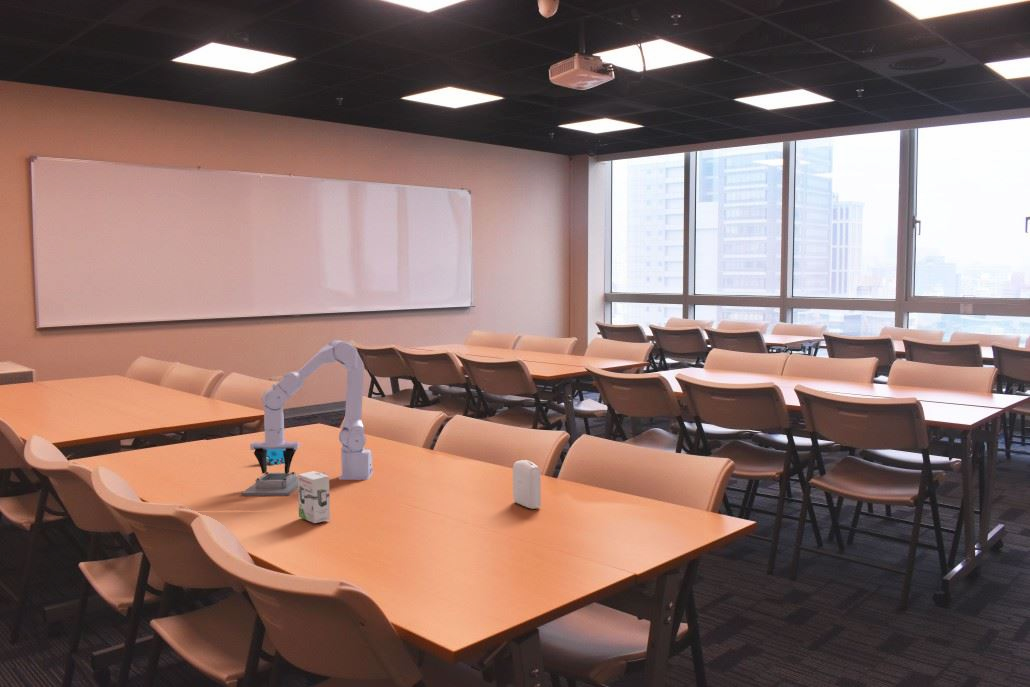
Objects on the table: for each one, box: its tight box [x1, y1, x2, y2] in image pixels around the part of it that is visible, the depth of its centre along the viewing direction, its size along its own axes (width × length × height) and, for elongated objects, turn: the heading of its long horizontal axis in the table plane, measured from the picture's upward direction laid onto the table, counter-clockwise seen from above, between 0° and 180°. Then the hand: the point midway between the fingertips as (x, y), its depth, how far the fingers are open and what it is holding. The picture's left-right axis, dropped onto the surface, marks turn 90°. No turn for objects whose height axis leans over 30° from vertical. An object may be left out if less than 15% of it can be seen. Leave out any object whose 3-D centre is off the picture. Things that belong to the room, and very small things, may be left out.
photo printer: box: [512, 459, 542, 510], centre depth 228 cm, size 10×4×12 cm, turn 29°
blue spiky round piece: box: [266, 449, 286, 466], centre depth 283 cm, size 11×6×10 cm
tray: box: [241, 471, 298, 497], centre depth 251 cm, size 14×20×4 cm
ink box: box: [297, 470, 331, 524], centre depth 217 cm, size 9×5×12 cm, turn 44°
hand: (275, 472), depth 251 cm, fingers open, 6 cm apart
